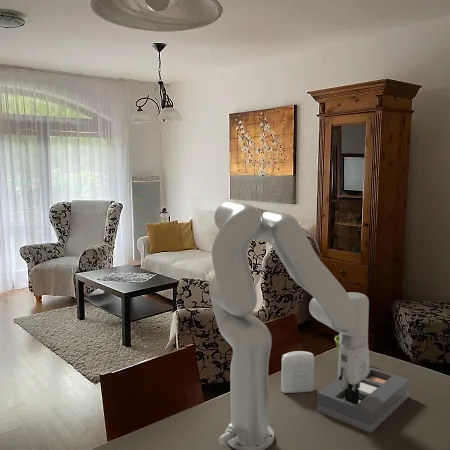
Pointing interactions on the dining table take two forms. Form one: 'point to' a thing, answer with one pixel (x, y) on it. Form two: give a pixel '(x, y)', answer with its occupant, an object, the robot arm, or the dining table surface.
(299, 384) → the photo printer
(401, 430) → the dining table surface
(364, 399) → the keypad
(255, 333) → the robot arm
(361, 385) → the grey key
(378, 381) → the terracotta key
